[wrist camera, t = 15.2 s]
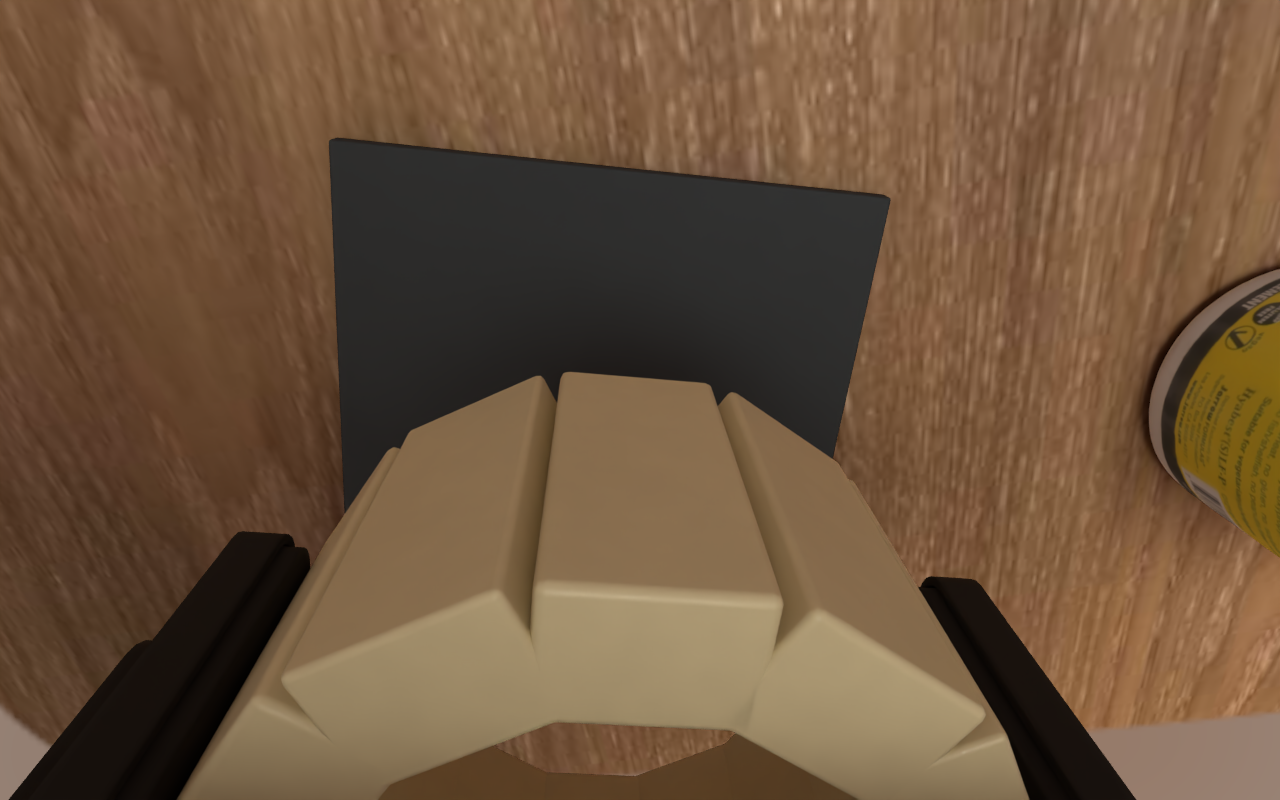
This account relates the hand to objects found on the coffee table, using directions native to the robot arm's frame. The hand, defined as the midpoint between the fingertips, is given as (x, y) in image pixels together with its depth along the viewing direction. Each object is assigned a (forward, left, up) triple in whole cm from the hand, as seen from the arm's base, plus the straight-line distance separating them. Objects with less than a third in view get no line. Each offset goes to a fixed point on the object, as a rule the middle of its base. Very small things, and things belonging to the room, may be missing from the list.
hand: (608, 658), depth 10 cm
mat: (0, 0, -7) cm, 7 cm away
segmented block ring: (0, 0, 0) cm, 0 cm away
